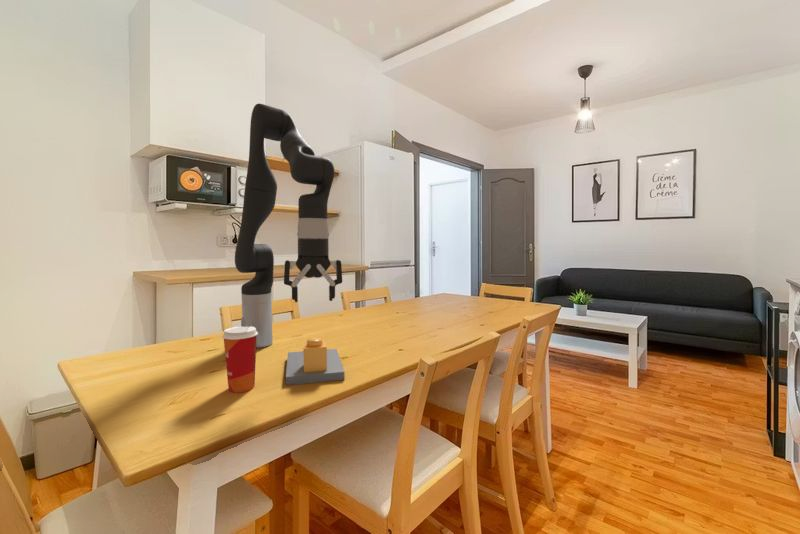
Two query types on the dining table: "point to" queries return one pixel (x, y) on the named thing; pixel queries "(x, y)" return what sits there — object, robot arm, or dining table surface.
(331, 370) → the board
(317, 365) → the orange toy brick
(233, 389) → the paper cup
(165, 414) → the dining table surface
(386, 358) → the dining table surface
